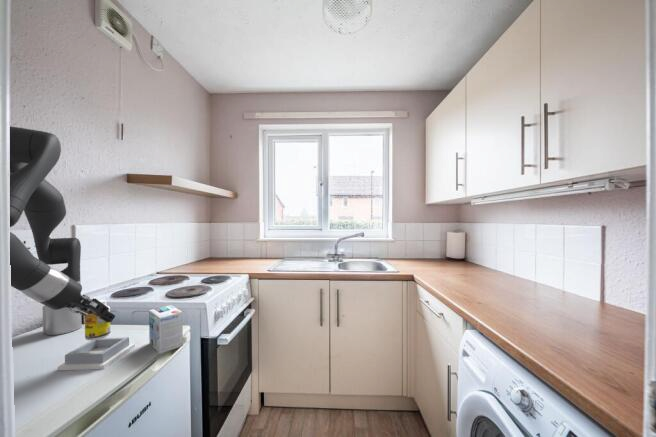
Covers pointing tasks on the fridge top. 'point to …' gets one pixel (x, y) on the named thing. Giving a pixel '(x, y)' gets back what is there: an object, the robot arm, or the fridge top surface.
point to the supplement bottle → (96, 326)
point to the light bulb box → (165, 328)
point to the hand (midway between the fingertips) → (104, 318)
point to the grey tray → (96, 354)
